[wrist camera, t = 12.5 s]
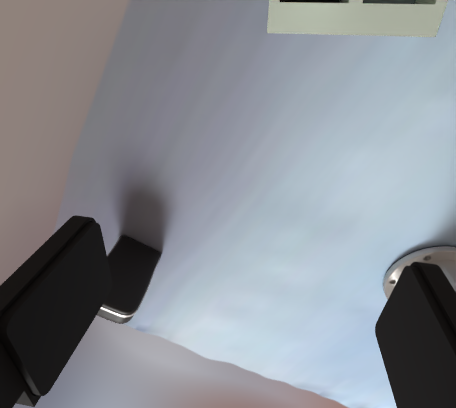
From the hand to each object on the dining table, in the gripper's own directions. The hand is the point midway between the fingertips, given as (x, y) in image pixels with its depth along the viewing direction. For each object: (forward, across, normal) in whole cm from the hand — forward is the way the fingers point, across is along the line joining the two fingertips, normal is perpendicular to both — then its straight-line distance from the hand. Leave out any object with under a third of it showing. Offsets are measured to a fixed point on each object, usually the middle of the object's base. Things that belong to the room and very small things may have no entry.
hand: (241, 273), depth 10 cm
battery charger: (+26, +17, +24) cm, 39 cm away
